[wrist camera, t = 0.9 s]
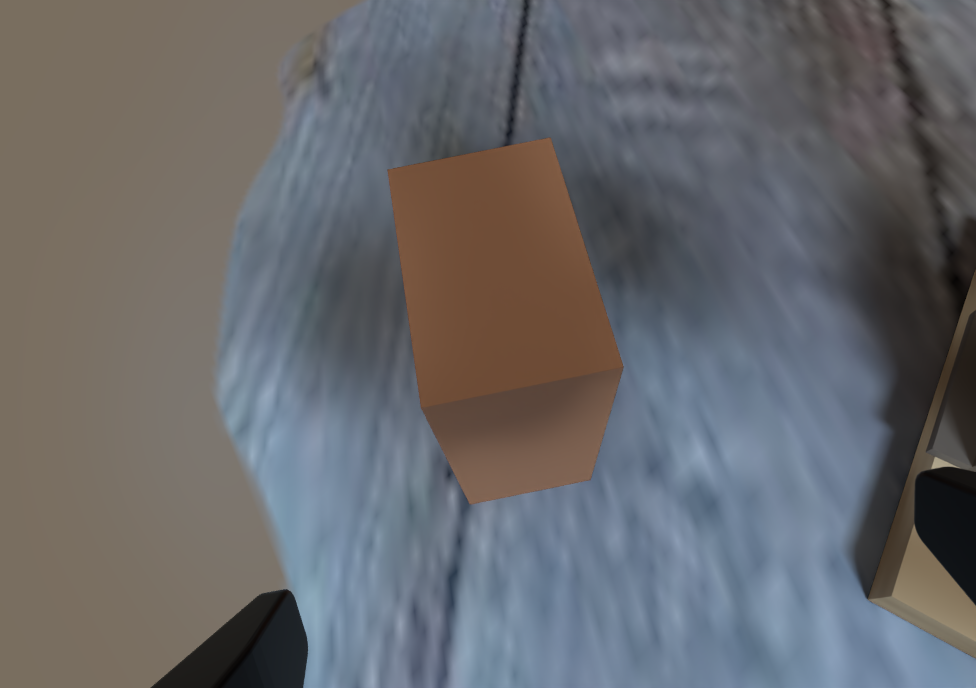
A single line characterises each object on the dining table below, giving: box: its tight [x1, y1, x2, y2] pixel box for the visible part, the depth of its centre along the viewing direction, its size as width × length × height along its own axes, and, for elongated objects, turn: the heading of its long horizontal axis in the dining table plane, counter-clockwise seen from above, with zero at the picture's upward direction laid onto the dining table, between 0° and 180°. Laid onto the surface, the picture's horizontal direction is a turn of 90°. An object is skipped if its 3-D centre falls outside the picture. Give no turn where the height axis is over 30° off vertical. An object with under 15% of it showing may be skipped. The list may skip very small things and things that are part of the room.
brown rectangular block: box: [388, 138, 624, 504], centre depth 19 cm, size 7×4×10 cm, turn 10°
